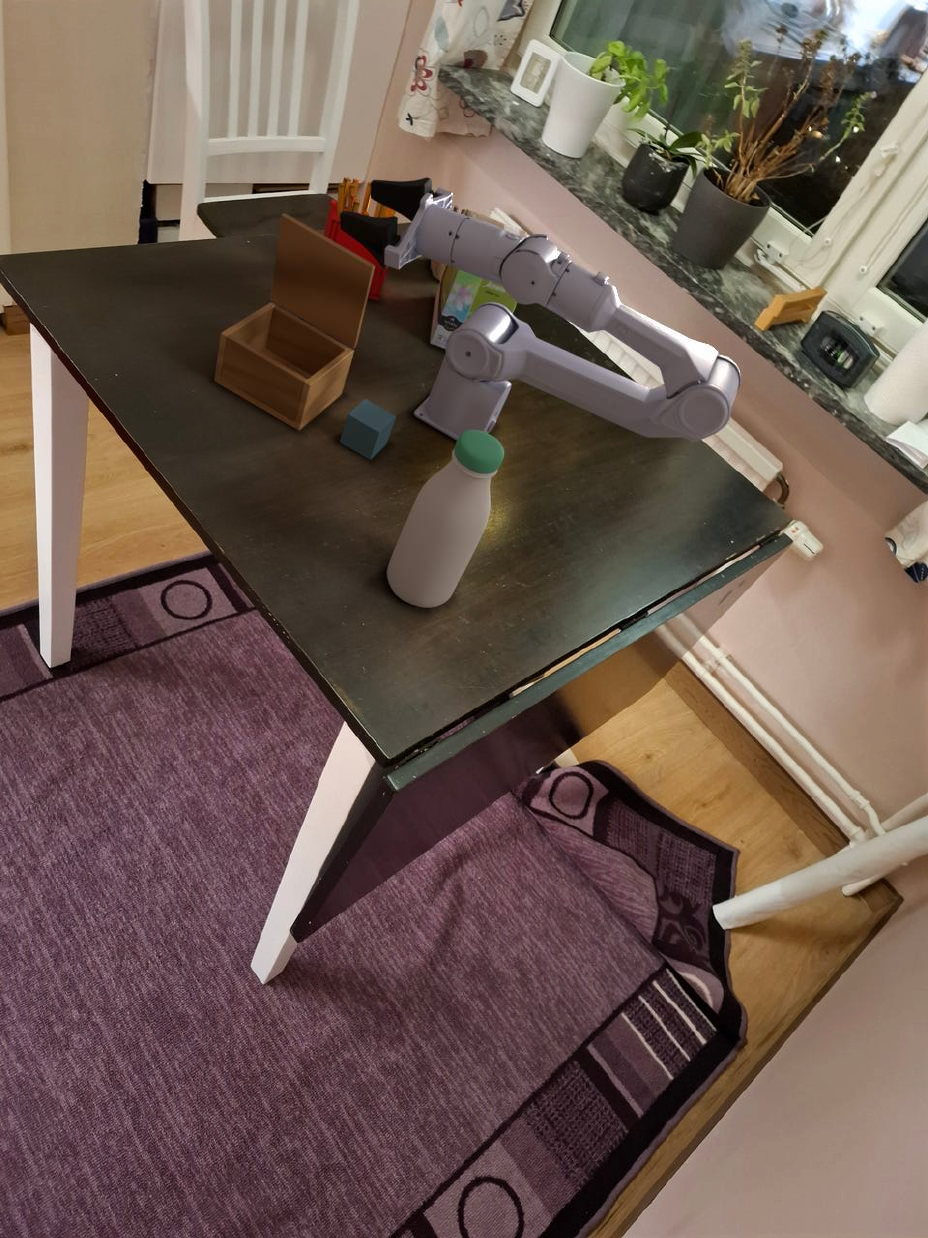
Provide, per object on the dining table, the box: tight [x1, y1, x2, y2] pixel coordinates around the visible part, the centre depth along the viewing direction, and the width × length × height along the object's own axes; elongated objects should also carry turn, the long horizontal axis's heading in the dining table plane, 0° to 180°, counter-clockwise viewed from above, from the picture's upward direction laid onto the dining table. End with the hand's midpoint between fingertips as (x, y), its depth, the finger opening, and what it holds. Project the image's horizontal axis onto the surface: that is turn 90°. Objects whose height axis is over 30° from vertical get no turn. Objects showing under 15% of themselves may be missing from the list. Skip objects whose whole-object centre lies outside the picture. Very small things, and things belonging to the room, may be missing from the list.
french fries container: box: [323, 176, 397, 301], centre depth 119 cm, size 7×9×14 cm
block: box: [339, 398, 397, 461], centre depth 101 cm, size 4×4×4 cm
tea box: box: [430, 208, 527, 350], centre depth 122 cm, size 15×10×15 cm
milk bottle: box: [386, 430, 505, 609], centre depth 83 cm, size 8×8×20 cm
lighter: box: [430, 205, 467, 282], centre depth 133 cm, size 7×4×10 cm, turn 8°
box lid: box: [270, 212, 375, 350], centre depth 97 cm, size 11×12×1 cm
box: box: [214, 301, 355, 431], centre depth 101 cm, size 11×12×7 cm
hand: (357, 203), depth 98 cm, fingers open, 7 cm apart
